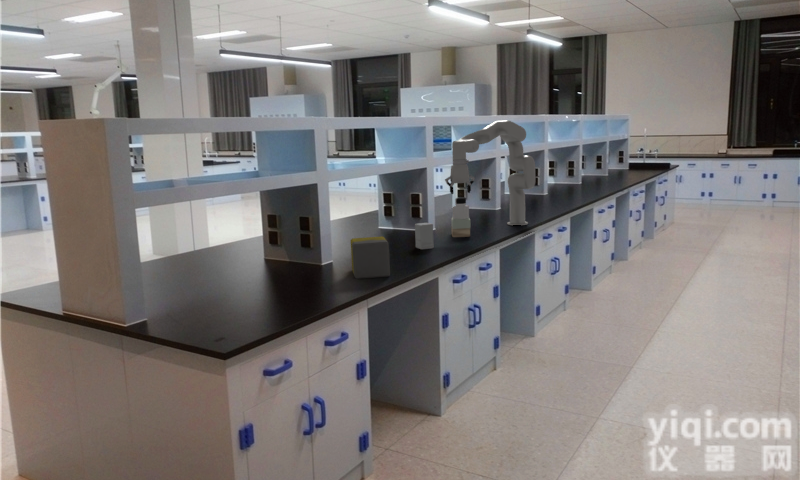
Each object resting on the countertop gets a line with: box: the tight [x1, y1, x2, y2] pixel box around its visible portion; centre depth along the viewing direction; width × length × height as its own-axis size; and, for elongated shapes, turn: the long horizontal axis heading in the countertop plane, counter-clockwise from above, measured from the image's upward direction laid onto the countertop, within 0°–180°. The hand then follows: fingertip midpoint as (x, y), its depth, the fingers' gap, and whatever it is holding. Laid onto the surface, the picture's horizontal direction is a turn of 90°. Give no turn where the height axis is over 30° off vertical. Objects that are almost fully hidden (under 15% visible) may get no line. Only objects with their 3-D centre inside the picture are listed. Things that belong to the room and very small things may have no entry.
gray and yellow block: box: [350, 235, 391, 280], centre depth 268 cm, size 15×24×15 cm, turn 9°
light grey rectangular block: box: [452, 196, 470, 219], centre depth 347 cm, size 7×7×12 cm
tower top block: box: [450, 217, 472, 229], centre depth 348 cm, size 10×10×5 cm
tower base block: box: [450, 225, 471, 238], centre depth 349 cm, size 10×10×5 cm
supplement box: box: [414, 222, 435, 250], centre depth 316 cm, size 7×7×13 cm
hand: (460, 193), depth 345 cm, fingers open, 9 cm apart
